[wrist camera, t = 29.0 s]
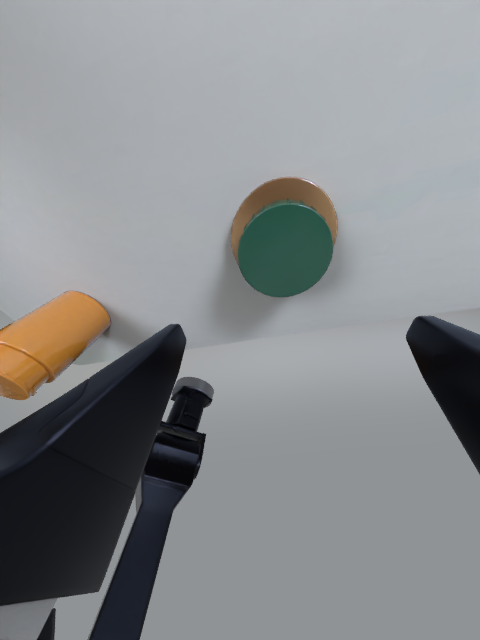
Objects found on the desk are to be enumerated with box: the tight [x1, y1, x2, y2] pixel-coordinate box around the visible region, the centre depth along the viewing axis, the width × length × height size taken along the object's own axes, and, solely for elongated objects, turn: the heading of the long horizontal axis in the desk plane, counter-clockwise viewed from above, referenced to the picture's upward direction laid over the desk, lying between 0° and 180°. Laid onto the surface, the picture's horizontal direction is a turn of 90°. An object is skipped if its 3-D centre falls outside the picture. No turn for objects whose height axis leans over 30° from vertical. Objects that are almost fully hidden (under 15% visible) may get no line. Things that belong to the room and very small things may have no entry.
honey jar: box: [0, 291, 111, 400], centre depth 19 cm, size 6×6×10 cm
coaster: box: [231, 177, 337, 265], centre depth 15 cm, size 8×8×1 cm
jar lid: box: [238, 198, 333, 297], centre depth 14 cm, size 7×6×2 cm
